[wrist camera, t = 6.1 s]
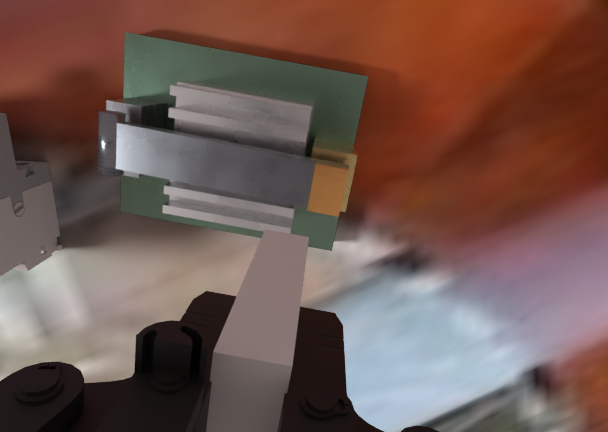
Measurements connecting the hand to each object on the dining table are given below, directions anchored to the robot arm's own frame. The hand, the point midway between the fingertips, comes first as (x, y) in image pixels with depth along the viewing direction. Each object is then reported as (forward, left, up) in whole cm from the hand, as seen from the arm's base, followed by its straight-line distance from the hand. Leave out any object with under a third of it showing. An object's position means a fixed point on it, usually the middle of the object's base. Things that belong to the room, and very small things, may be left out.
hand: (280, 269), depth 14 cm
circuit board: (-6, 0, -21) cm, 22 cm away
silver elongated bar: (-6, 0, -14) cm, 15 cm away
